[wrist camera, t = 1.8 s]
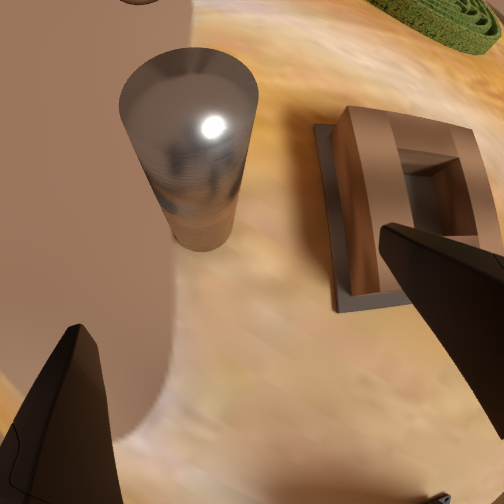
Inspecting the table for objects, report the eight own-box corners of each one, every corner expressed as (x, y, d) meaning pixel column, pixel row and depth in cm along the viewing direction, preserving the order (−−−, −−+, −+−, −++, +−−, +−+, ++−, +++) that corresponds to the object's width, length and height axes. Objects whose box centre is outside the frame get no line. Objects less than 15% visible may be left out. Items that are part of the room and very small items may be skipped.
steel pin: (234, 250, 21) (264, 150, 8) (171, 253, 20) (110, 157, 7) (231, 192, 21) (253, 47, 9) (171, 194, 21) (129, 53, 8)
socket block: (479, 292, 22) (514, 286, 18) (336, 313, 21) (366, 311, 16) (448, 143, 25) (475, 121, 21) (313, 126, 23) (330, 92, 19)
